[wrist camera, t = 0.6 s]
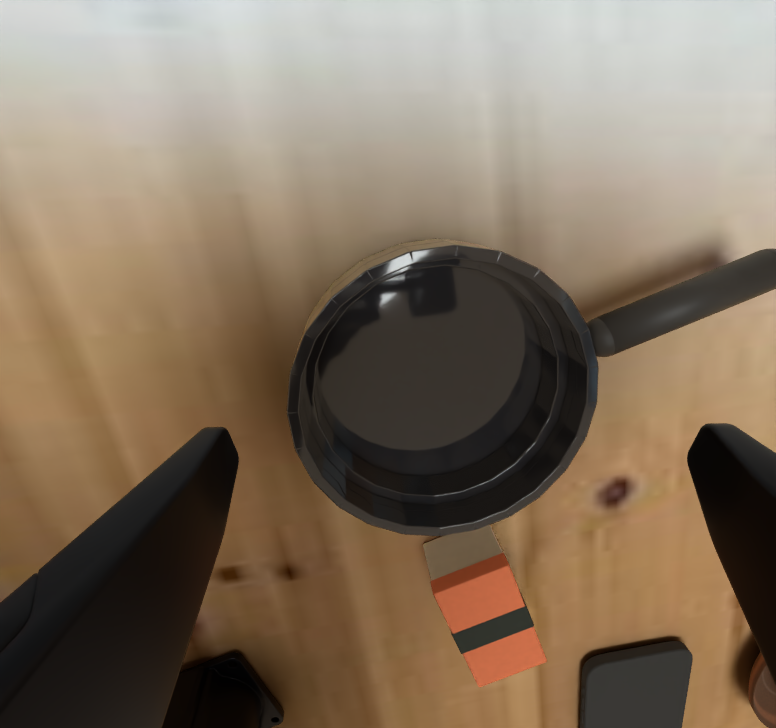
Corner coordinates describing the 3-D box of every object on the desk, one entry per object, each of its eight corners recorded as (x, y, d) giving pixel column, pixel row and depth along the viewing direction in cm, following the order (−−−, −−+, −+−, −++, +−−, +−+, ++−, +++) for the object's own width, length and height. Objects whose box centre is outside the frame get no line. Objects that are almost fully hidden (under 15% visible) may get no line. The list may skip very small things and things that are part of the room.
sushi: (521, 602, 28) (548, 662, 24) (460, 626, 28) (478, 689, 25) (486, 513, 26) (510, 565, 22) (419, 539, 26) (432, 596, 22)
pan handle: (578, 355, 20) (598, 368, 18) (569, 321, 20) (589, 332, 18) (769, 277, 20) (807, 284, 18) (766, 240, 19) (805, 243, 18)
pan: (582, 430, 24) (625, 471, 21) (360, 519, 25) (363, 575, 21) (515, 192, 20) (555, 189, 16) (248, 306, 21) (227, 328, 17)
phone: (580, 803, 34) (586, 667, 29) (575, 790, 35) (580, 655, 30) (673, 784, 35) (696, 646, 30) (666, 772, 36) (686, 635, 30)
